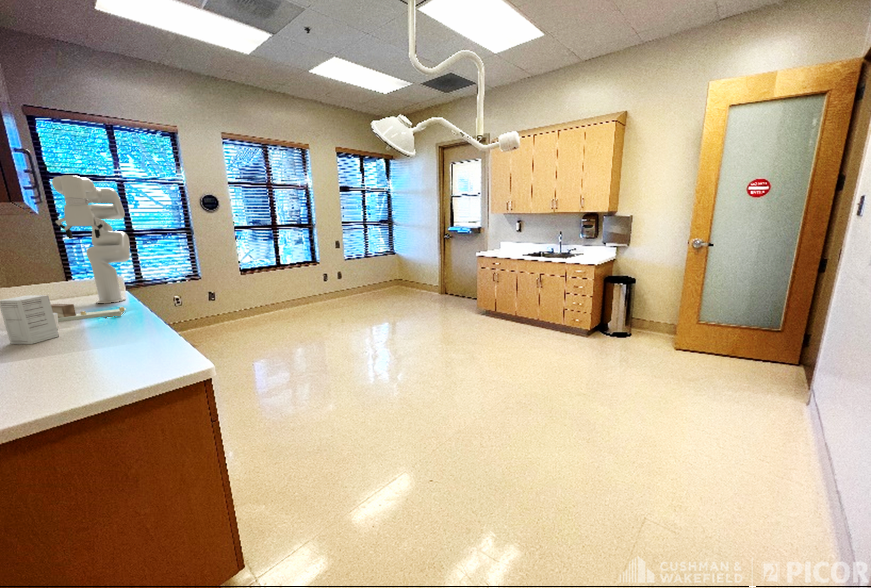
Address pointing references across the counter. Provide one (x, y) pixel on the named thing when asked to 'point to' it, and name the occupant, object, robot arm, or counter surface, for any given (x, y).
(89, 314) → the panel
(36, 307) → the supplement box
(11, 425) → the counter surface
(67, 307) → the frame
